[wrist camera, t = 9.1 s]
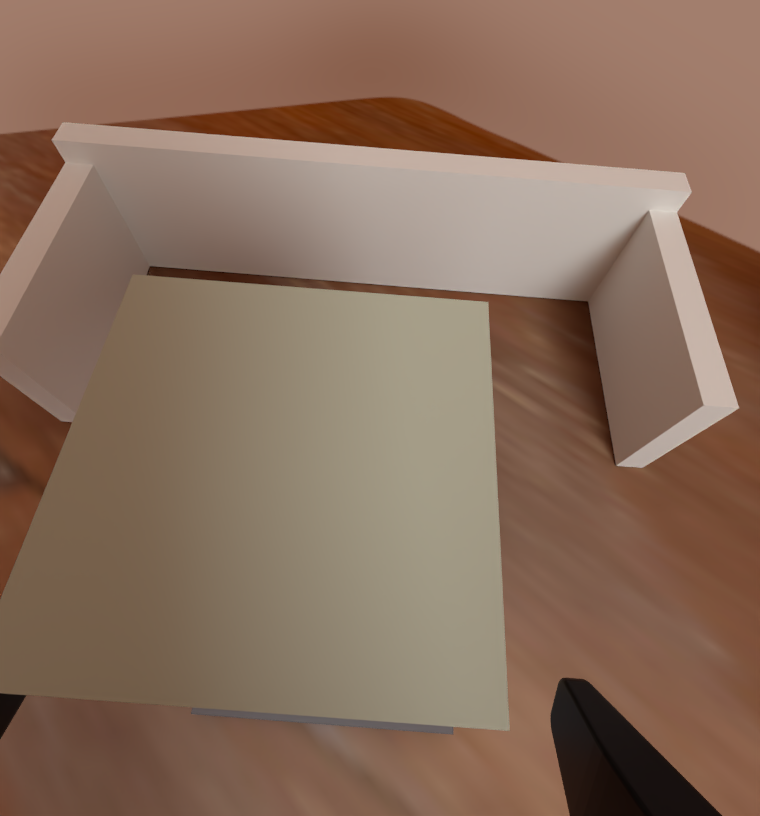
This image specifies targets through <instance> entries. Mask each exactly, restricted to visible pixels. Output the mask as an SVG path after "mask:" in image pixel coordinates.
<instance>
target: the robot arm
mask: <svg viewBox="0 0 760 816" xmlns="http://www.w3.org/2000/svg"><path fill="white" fill-rule="evenodd" d="M25 697H26V695H17V694H4V693H0V739H1V737H2V735H3V734H4V732H5V730H6V729H7V727H8V725H9V724H10V722H11V720H12V719H13V717H14V715H15V714H16V712H17V710H18V709H19V707H20V705H21V703H22V702H23V700H24V698H25ZM551 729H552V734H553V739H554V744H555V748H556V753H557V758H558V762H559V767H560V772H561V776H562V781H563V786H564V790H565V795H566V800H567V804H568V809H569V814H570V816H722V815H721V814H720V813H719V812H718V811H717V810H716V809H715V808H714V807H713V806H712V805H711V804H710V803H709V802H708V801H707V800H706V799H705V798H704V797H703V796H702V795H701V794H700V793H699V792H698V791H697V790H696V789H695V788H694V787H693V786H692V785H691V784H690V783H689V782H688V781H687V780H686V779H685V778H684V777H683V776H682V775H681V774H680V773H679V772H678V771H677V770H676V769H675V768H674V767H673V766H672V765H671V764H670V763H669V762H668V761H667V760H666V759H665V758H664V757H663V756H662V755H661V754H660V753H659V752H658V751H657V750H656V749H655V748H654V747H653V746H652V745H651V744H650V743H649V742H648V741H647V740H646V739H645V738H644V737H643V736H642V735H641V734H640V733H639V732H638V731H637V730H636V729H635V728H634V727H633V726H632V725H631V724H630V723H629V722H628V721H627V720H626V719H625V718H624V717H623V716H622V715H621V714H620V713H619V712H618V711H617V710H616V709H615V708H614V707H613V706H612V705H611V704H610V703H609V702H608V701H607V700H606V699H605V698H604V697H603V696H602V695H601V694H600V693H599V692H598V691H597V690H596V689H595V688H594V687H593V686H592V685H591V684H590V683H589V682H588V681H586V680H584V679H576V678H562V679H561V680H560V681H559V683H558V687H557V691H556V695H555V699H554V703H553V707H552V711H551Z"/></svg>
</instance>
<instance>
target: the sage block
mask: <svg viewBox="0 0 760 816" xmlns="http://www.w3.org/2000/svg"><path fill="white" fill-rule="evenodd" d="M0 693H4V694H17V695H31V696H45V697H58V698H72V699H85V700H99V701H112V702H126V703H139V704H153V705H166V706H180V707H193V708H207V709H220V710H234V711H247V712H261V713H274V714H288V715H302V716H315V717H329V718H342V719H356V720H369V721H383V722H396V723H410V724H423V725H437V726H450V727H464V728H477V729H491V730H504V731H510V727H509V708H508V688H507V668H506V648H505V628H504V608H503V588H502V569H501V549H500V529H499V509H498V489H497V469H496V449H495V430H494V410H493V390H492V370H491V350H490V330H489V310H488V302H480V301H467V300H454V299H441V298H429V297H416V296H403V295H390V294H377V293H365V292H352V291H339V290H326V289H313V288H301V287H288V286H275V285H262V284H250V283H237V282H224V281H211V280H198V279H186V278H173V277H160V276H147V275H134V274H133V275H132V277H131V280H130V282H129V285H128V287H127V289H126V292H125V294H124V297H123V299H122V302H121V304H120V307H119V309H118V312H117V314H116V316H115V319H114V321H113V324H112V326H111V329H110V331H109V334H108V336H107V339H106V341H105V343H104V346H103V348H102V351H101V353H100V356H99V358H98V361H97V363H96V366H95V368H94V370H93V373H92V375H91V378H90V380H89V383H88V385H87V388H86V390H85V393H84V395H83V397H82V400H81V402H80V405H79V407H78V410H77V412H76V415H75V417H74V420H73V422H72V424H71V427H70V429H69V432H68V434H67V437H66V439H65V442H64V444H63V447H62V449H61V451H60V454H59V456H58V459H57V461H56V464H55V466H54V469H53V471H52V473H51V476H50V478H49V481H48V483H47V486H46V488H45V491H44V493H43V496H42V498H41V500H40V503H39V505H38V508H37V510H36V513H35V515H34V518H33V520H32V523H31V525H30V527H29V530H28V532H27V535H26V537H25V540H24V542H23V545H22V547H21V550H20V552H19V554H18V557H17V559H16V562H15V564H14V567H13V569H12V572H11V574H10V577H9V579H8V581H7V584H6V586H5V589H4V591H3V594H2V596H1V599H0Z"/></svg>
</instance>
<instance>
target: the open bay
mask: <svg viewBox="0 0 760 816" xmlns="http://www.w3.org/2000/svg"><path fill="white" fill-rule="evenodd" d="M52 141H53V143H54V145H55V146H56V148H57V149H58V151H59V153H60V154H61V156H62V158H63V159H64V161H65V164H64V166H63V168H62V169H61V171H60V173H59V174H58V176H57V178H56V180H55V181H54V183H53V185H52V186H51V188H50V190H49V192H48V193H47V195H46V197H45V198H44V200H43V202H42V204H41V205H40V207H39V209H38V210H37V212H36V214H35V216H34V217H33V219H32V221H31V222H30V224H29V226H28V228H27V229H26V231H25V233H24V234H23V236H22V238H21V240H20V241H19V243H18V245H17V246H16V248H15V250H14V252H13V253H12V255H11V257H10V258H9V260H8V262H7V264H6V265H5V267H4V269H3V270H2V272H1V274H0V376H1V377H2V378H3V379H5V380H6V381H7V382H9V383H10V384H12V385H13V386H14V387H16V388H17V389H18V390H20V391H21V392H22V393H24V394H25V395H26V396H28V397H29V398H30V399H32V400H33V401H35V402H36V403H37V404H39V405H40V406H41V407H43V408H44V409H45V410H47V411H48V412H49V413H51V414H52V415H53V416H55V417H56V418H58V419H59V420H60V421H63V422H73V420H74V417H75V415H76V412H77V410H78V407H79V405H80V402H81V400H82V397H83V395H84V393H85V390H86V388H87V385H88V383H89V380H90V378H91V375H92V373H93V370H94V368H95V366H96V363H97V361H98V358H99V356H100V353H101V351H102V348H103V346H104V343H105V341H106V339H107V336H108V334H109V331H110V329H111V326H112V324H113V321H114V319H115V316H116V314H117V312H118V309H119V307H120V304H121V302H122V299H123V297H124V294H125V292H126V289H127V287H128V285H129V282H130V280H131V277H132V275H133V274H134V275H147V272H148V270H149V267H150V266H156V267H168V268H180V269H193V270H205V271H217V272H230V273H242V274H254V275H267V276H279V277H292V278H304V279H316V280H329V281H341V282H353V283H366V284H378V285H390V286H403V287H415V288H427V289H440V290H452V291H464V292H477V293H489V294H502V295H514V296H526V297H539V298H551V299H563V300H576V301H588V305H589V310H590V316H591V322H592V328H593V334H594V340H595V346H596V351H597V357H598V363H599V369H600V375H601V381H602V386H603V392H604V398H605V404H606V410H607V416H608V422H609V427H610V433H611V439H612V445H613V451H614V457H615V463H616V466H626V467H639V468H643V467H644V466H646V465H648V464H649V463H651V462H653V461H654V460H656V459H657V458H659V457H661V456H662V455H664V454H666V453H667V452H669V451H670V450H672V449H674V448H675V447H677V446H678V445H680V444H682V443H683V442H685V441H687V440H688V439H690V438H691V437H693V436H695V435H696V434H698V433H700V432H701V431H703V430H704V429H706V428H708V427H709V426H711V425H713V424H714V423H716V422H717V421H719V420H721V419H722V418H724V417H726V416H727V415H729V414H730V413H732V412H734V411H735V410H737V409H739V406H738V403H737V400H736V397H735V394H734V391H733V388H732V384H731V381H730V378H729V375H728V372H727V369H726V365H725V362H724V359H723V356H722V353H721V350H720V347H719V343H718V340H717V337H716V334H715V331H714V328H713V325H712V321H711V318H710V315H709V312H708V309H707V306H706V302H705V299H704V296H703V293H702V290H701V287H700V284H699V280H698V277H697V274H696V271H695V268H694V265H693V262H692V258H691V255H690V252H689V249H688V246H687V243H686V239H685V236H684V233H683V230H682V227H681V224H680V221H679V217H678V214H677V212H678V210H679V209H680V207H681V206H682V205H683V203H684V202H685V201H686V199H687V198H688V197H689V195H690V194H691V193H692V192H691V189H690V186H689V183H688V180H687V177H686V174H685V173H678V172H665V171H653V170H641V169H629V168H617V167H605V166H593V165H580V164H568V163H556V162H544V161H531V160H519V159H507V158H495V157H483V156H470V155H458V154H446V153H434V152H421V151H409V150H397V149H385V148H373V147H360V146H348V145H336V144H324V143H311V142H299V141H287V140H275V139H263V138H250V137H238V136H226V135H214V134H202V133H189V132H177V131H165V130H153V129H140V128H128V127H116V126H104V125H92V124H79V123H66V122H63V123H62V124H61V126H60V127H59V129H58V131H57V132H56V134H55V135H54V137H53V139H52Z"/></svg>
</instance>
